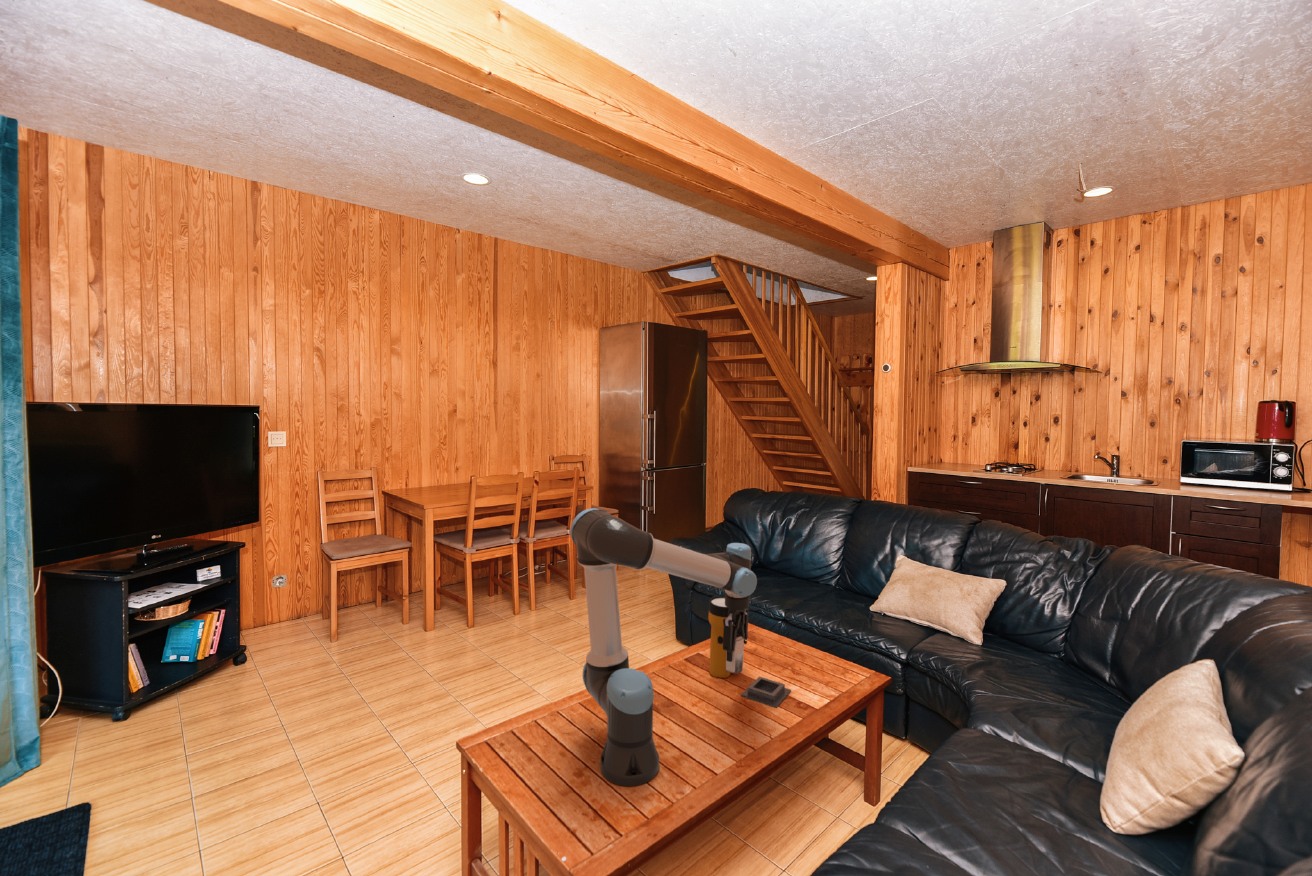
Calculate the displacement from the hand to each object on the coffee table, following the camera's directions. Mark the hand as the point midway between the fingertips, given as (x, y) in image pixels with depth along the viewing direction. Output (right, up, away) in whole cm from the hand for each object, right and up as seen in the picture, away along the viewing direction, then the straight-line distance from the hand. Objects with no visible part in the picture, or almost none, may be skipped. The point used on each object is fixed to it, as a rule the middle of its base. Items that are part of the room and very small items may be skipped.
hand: (734, 667), depth 175 cm
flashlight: (-2, -10, +19) cm, 22 cm away
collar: (+11, -11, +6) cm, 17 cm away
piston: (0, -1, 0) cm, 1 cm away
